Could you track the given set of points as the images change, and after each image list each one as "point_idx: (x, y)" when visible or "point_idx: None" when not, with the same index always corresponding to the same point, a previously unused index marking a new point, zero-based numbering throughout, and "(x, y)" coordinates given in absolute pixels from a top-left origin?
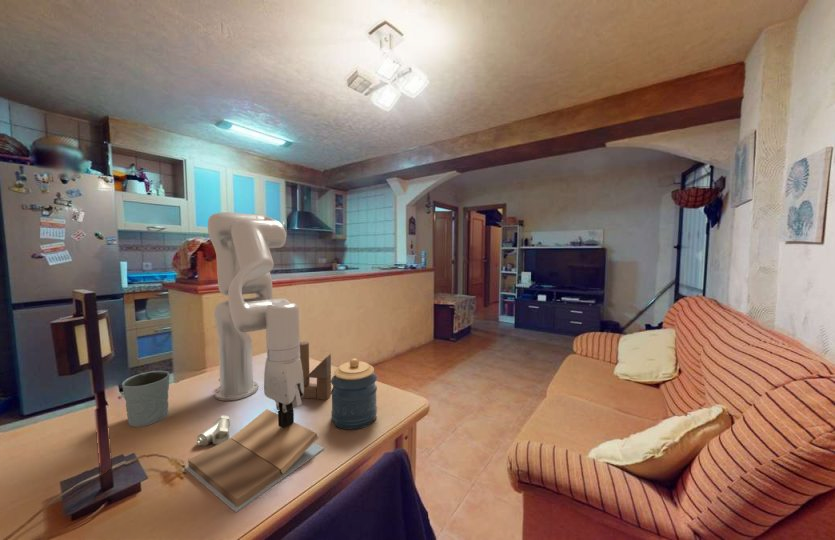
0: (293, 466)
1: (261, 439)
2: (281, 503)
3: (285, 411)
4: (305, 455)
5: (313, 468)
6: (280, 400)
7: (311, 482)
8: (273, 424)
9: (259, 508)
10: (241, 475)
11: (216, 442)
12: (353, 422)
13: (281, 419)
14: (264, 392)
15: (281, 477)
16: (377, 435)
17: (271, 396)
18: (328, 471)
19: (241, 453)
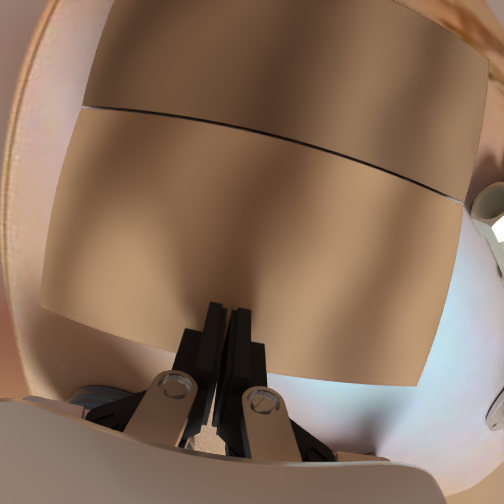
0: None
1: (311, 219)
2: (44, 51)
3: (155, 379)
4: None
5: (44, 199)
6: (87, 452)
7: (19, 149)
8: (315, 322)
9: (87, 7)
10: (212, 13)
11: (492, 189)
12: (71, 401)
13: (212, 334)
14: (434, 487)
15: (91, 107)
16: (28, 369)
17: (300, 496)
18: (10, 208)
19: (342, 117)
